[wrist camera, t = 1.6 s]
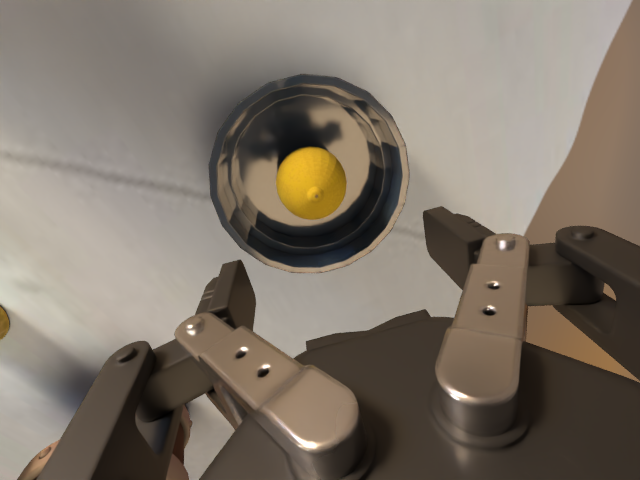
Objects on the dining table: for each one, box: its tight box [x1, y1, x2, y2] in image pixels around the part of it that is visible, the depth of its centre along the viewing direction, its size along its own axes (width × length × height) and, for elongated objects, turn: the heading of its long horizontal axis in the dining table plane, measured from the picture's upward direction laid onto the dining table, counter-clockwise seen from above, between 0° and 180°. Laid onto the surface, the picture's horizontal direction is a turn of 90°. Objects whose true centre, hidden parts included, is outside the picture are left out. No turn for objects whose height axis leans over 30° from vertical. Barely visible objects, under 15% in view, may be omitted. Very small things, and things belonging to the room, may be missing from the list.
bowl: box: [209, 74, 410, 273], centre depth 28 cm, size 15×15×6 cm
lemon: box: [276, 146, 347, 220], centre depth 26 cm, size 6×6×8 cm
